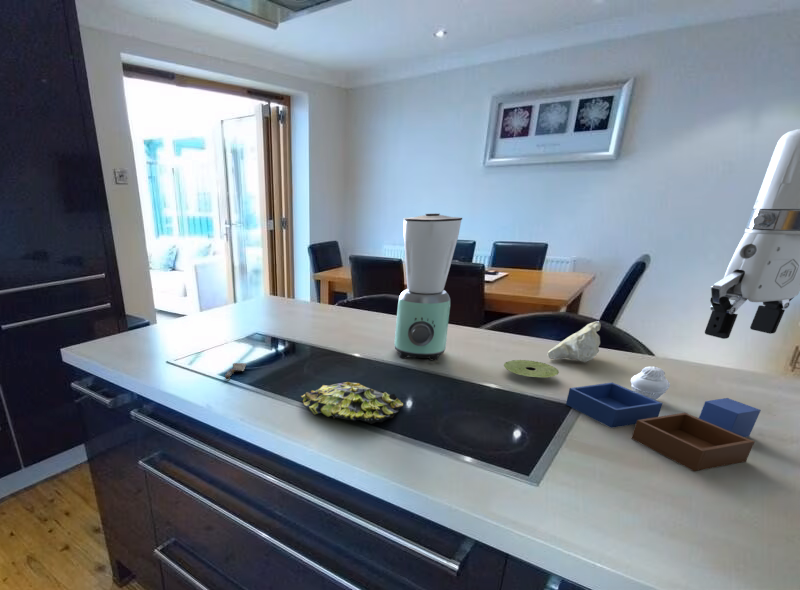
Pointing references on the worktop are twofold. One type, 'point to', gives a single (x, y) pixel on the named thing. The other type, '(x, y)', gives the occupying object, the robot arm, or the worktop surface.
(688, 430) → the brown bin
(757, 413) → the blue block
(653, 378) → the muffin
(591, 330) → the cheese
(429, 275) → the blender
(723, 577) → the worktop surface
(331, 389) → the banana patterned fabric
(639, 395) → the blue bin
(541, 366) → the green disc
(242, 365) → the meat cleaver
